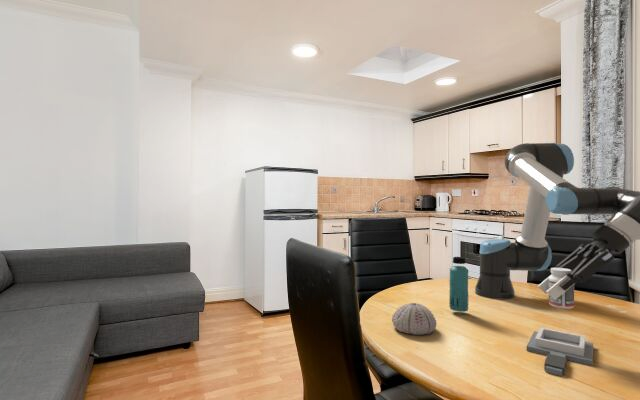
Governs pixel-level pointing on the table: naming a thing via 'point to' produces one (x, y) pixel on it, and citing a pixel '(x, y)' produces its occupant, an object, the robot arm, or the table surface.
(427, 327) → the sea urchin shell
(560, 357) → the holder
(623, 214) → the robot arm
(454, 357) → the table surface
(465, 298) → the beverage bottle
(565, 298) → the pill bottle
